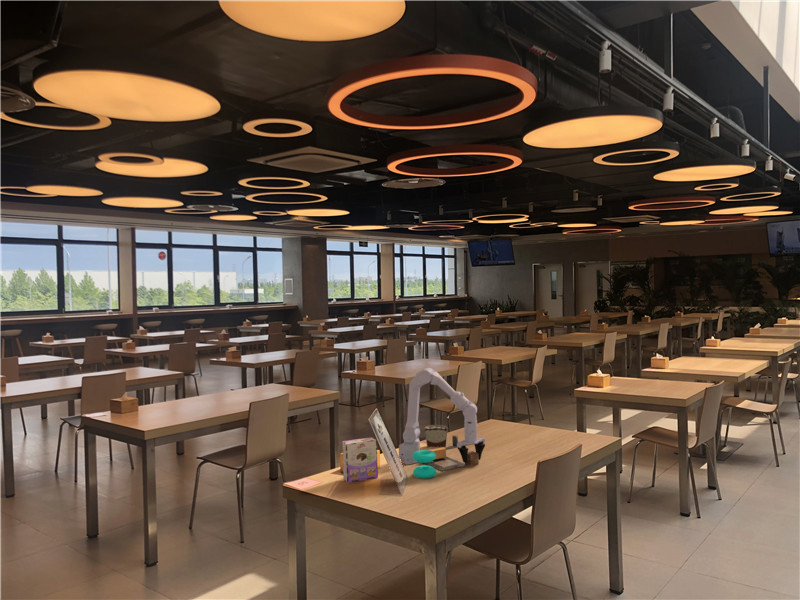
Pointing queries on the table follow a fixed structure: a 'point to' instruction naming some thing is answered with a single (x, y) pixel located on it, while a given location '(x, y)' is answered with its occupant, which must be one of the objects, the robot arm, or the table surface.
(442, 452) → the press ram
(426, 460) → the donuts
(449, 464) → the frame
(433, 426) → the food container
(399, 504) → the table surface
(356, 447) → the candy box
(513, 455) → the table surface
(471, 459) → the block
